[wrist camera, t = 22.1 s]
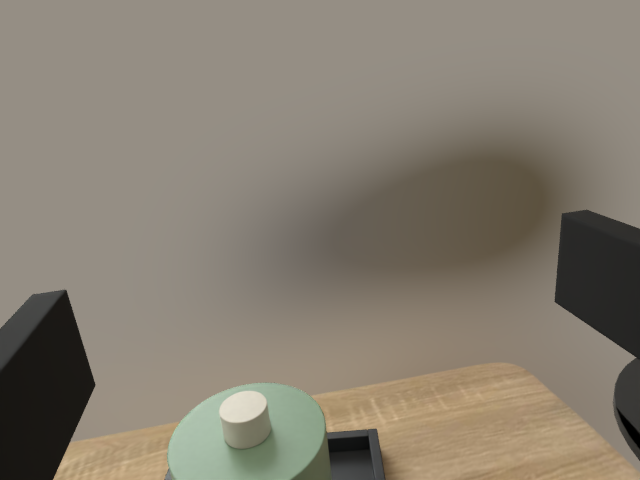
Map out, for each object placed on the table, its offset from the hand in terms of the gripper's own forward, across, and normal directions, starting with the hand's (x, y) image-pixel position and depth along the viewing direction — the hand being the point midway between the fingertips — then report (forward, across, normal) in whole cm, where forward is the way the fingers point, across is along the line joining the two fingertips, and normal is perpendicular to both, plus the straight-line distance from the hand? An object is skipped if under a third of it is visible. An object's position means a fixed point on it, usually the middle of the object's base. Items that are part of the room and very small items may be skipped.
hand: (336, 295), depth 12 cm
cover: (+14, -4, -25) cm, 29 cm away
